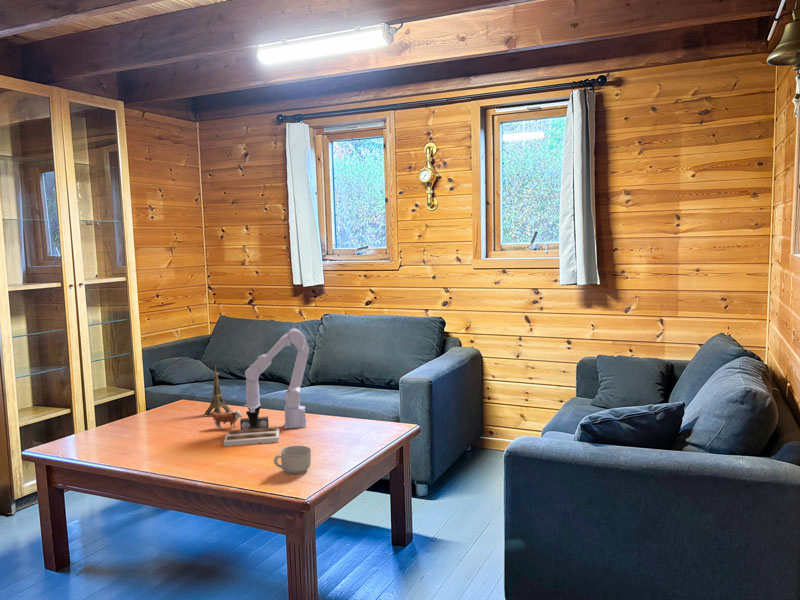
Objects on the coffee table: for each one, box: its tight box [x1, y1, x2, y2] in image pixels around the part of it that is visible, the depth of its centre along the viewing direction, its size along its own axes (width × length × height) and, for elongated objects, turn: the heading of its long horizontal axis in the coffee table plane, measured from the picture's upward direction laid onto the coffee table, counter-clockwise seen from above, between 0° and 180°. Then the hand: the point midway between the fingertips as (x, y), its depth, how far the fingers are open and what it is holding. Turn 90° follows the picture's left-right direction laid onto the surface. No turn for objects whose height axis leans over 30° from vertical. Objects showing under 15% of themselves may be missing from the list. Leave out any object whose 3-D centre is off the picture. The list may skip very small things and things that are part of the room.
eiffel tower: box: [203, 364, 233, 417], centre depth 309 cm, size 11×11×25 cm
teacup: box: [273, 445, 312, 475], centre depth 224 cm, size 14×11×8 cm
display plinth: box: [223, 426, 280, 447], centre depth 265 cm, size 22×14×3 cm, turn 99°
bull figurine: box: [212, 409, 243, 430], centre depth 284 cm, size 4×13×8 cm, turn 89°
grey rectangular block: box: [239, 416, 270, 430], centre depth 279 cm, size 12×3×6 cm, turn 99°
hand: (254, 424), depth 279 cm, fingers open, 7 cm apart
